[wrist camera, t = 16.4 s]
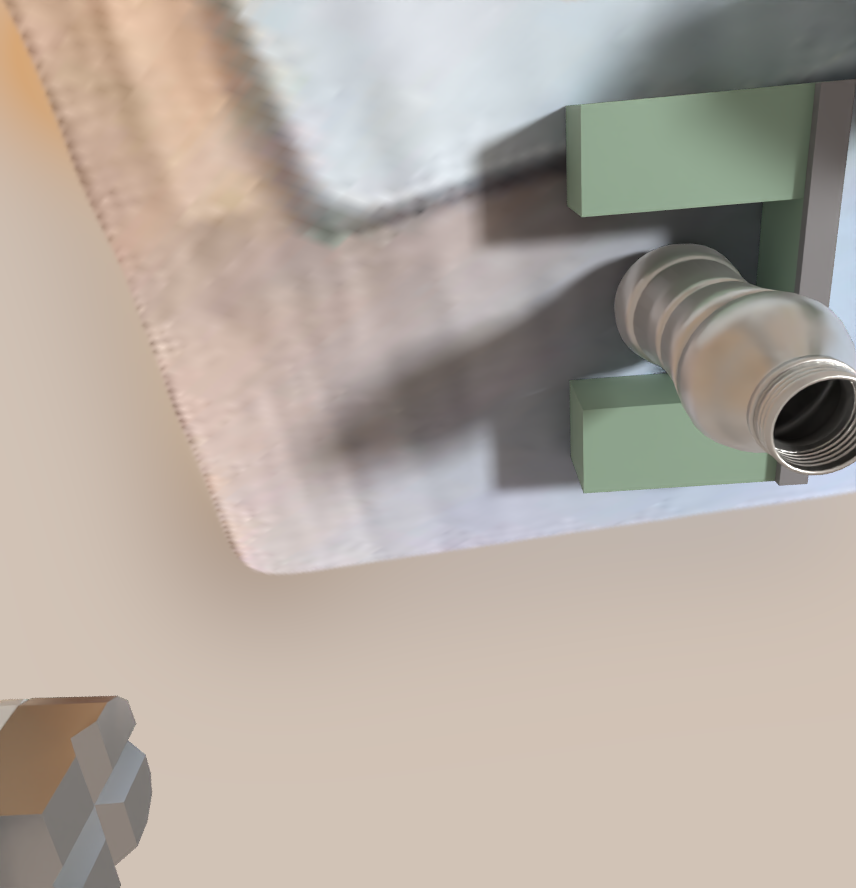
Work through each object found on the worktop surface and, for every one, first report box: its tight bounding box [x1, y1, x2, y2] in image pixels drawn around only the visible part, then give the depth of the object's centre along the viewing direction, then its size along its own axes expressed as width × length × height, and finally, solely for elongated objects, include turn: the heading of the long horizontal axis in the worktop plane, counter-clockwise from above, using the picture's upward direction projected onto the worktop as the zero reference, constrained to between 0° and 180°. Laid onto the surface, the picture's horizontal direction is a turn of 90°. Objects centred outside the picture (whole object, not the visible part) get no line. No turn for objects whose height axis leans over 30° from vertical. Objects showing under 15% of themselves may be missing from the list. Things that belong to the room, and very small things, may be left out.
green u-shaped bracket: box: [566, 79, 856, 493], centre depth 41 cm, size 20×12×6 cm, turn 5°
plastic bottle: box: [614, 244, 856, 475], centre depth 34 cm, size 6×7×20 cm
